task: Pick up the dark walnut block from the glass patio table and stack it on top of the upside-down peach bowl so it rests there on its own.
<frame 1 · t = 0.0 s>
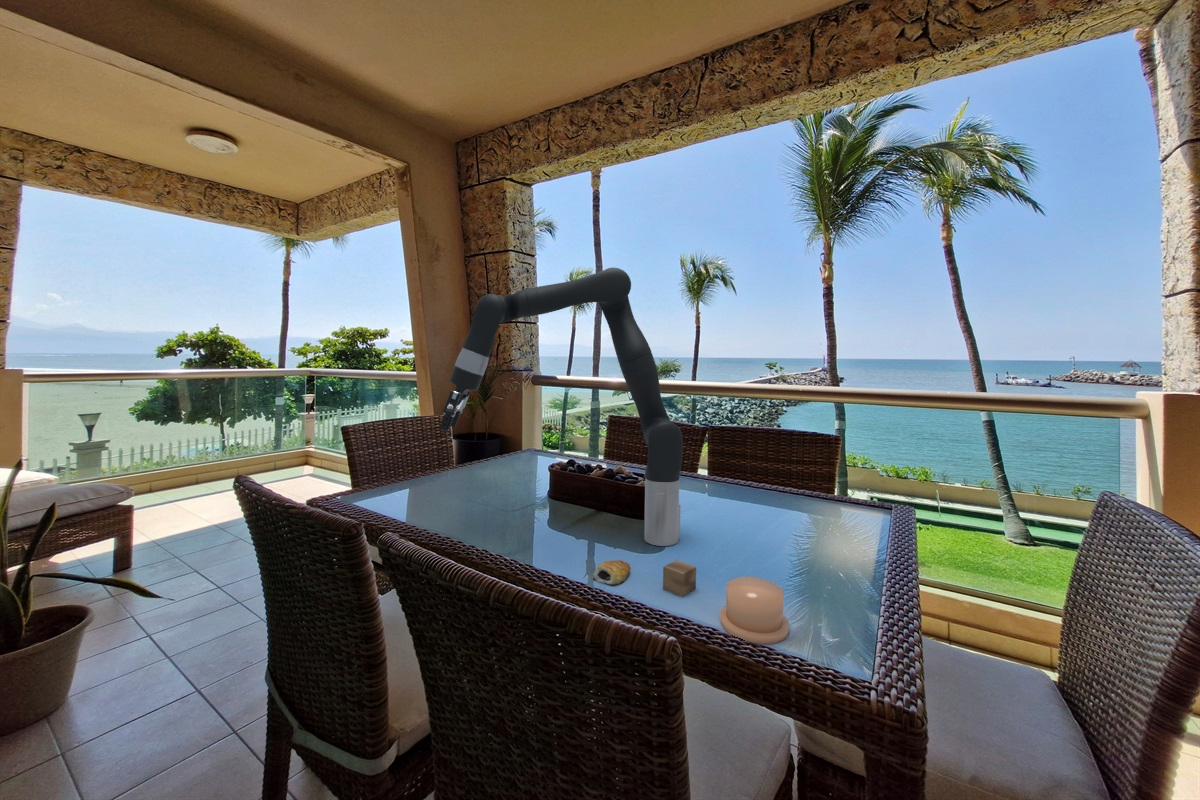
hand: (447, 427, 122), 31 cm above the table, tool tilted 20°, fingers open, 8 cm apart
upside-down peach bowl: (753, 625, 87), on the table
pastry: (612, 578, 107), on the table
walnut block: (679, 589, 101), on the table
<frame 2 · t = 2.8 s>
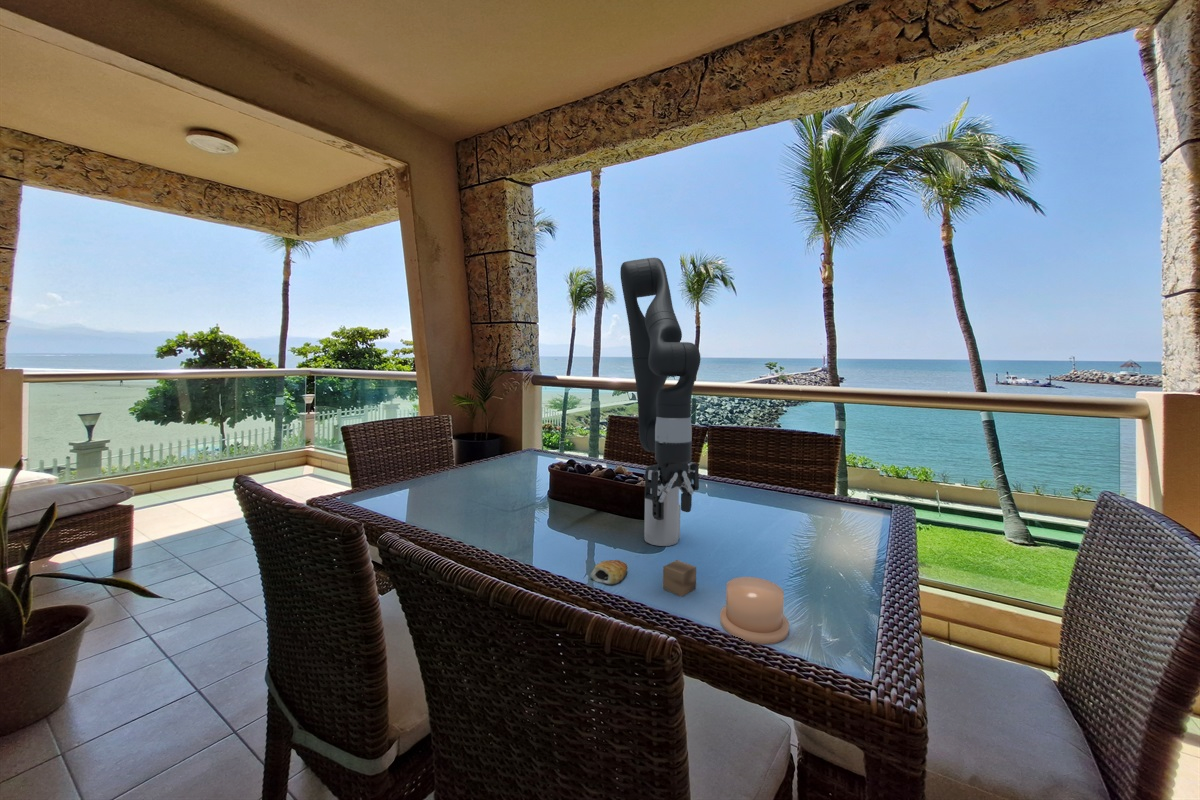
hand: (672, 515, 99), 16 cm above the table, tool pointing down, fingers open, 8 cm apart
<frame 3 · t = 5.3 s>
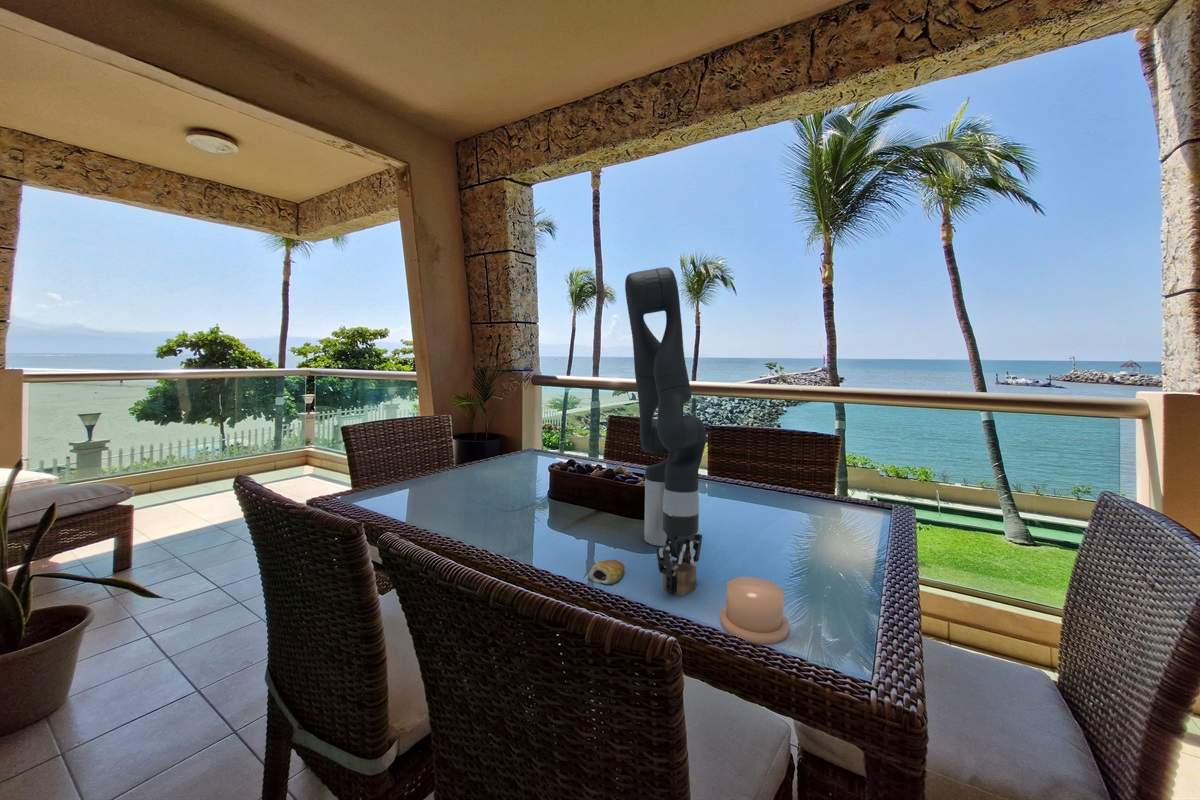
hand: (679, 586, 101), 0 cm above the table, tool pointing down, fingers closed on walnut block, 5 cm apart
walnut block: (679, 589, 101), on the table, touching gripper
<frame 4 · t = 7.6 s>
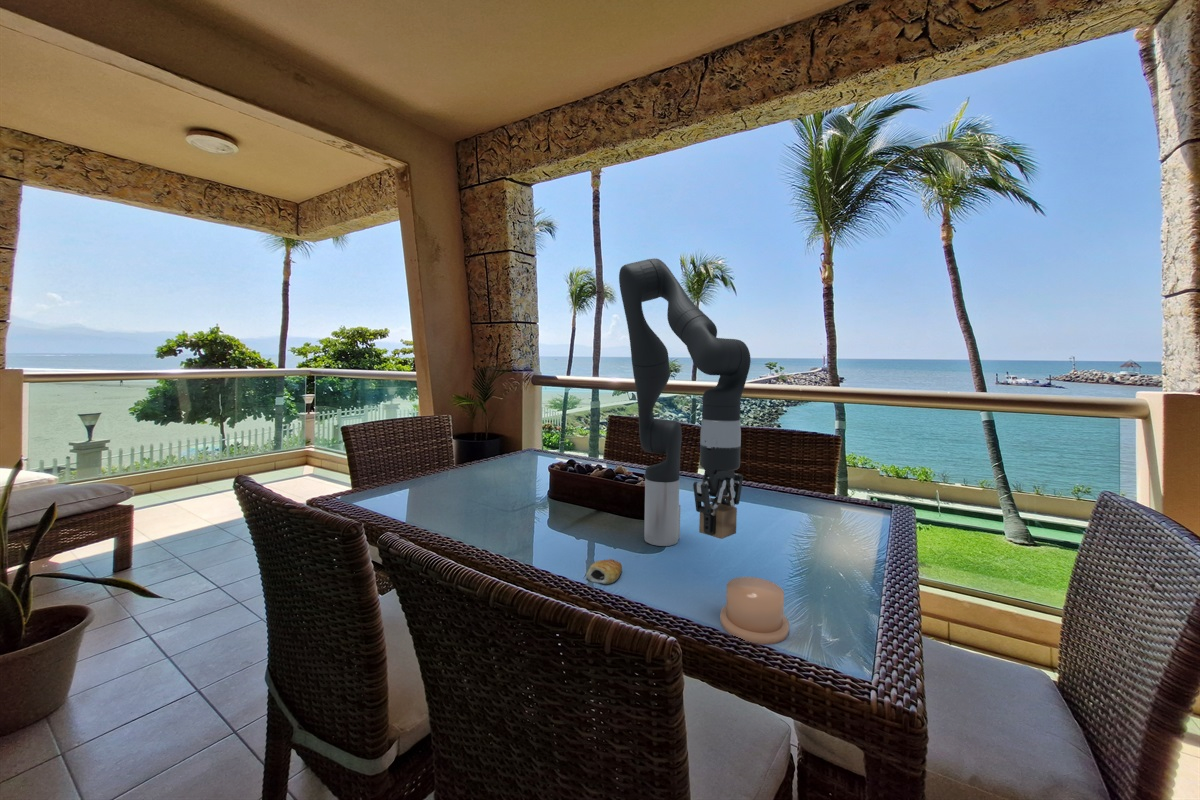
hand: (717, 530, 91), 16 cm above the table, tool pointing down, fingers closed on walnut block, 5 cm apart
walnut block: (717, 532, 91), point 16 cm above the table, touching gripper
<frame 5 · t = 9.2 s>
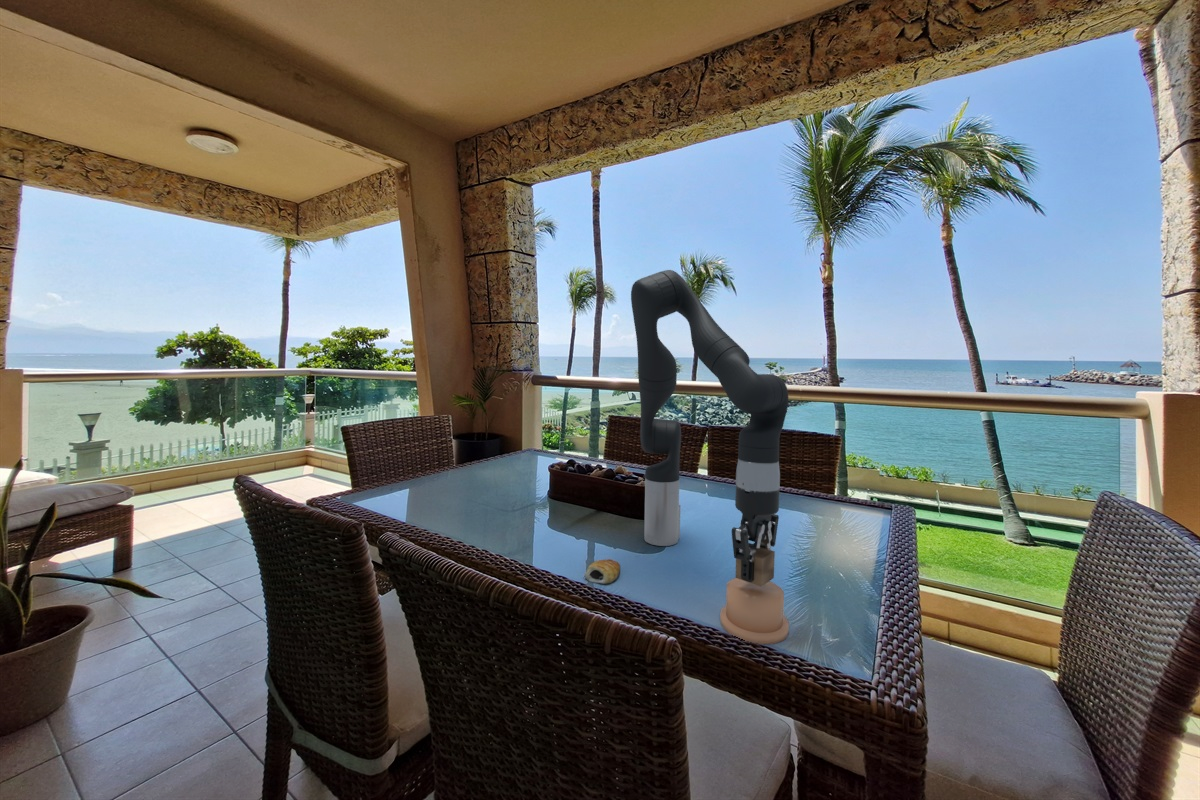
hand: (754, 575, 86), 9 cm above the table, tool pointing down, fingers closed on walnut block, 5 cm apart
walnut block: (754, 577, 87), point 9 cm above the table, touching gripper
when the fingers open (9 cm above the table, at t = 10.2 s): walnut block drops 1 cm, resting on upside-down peach bowl.
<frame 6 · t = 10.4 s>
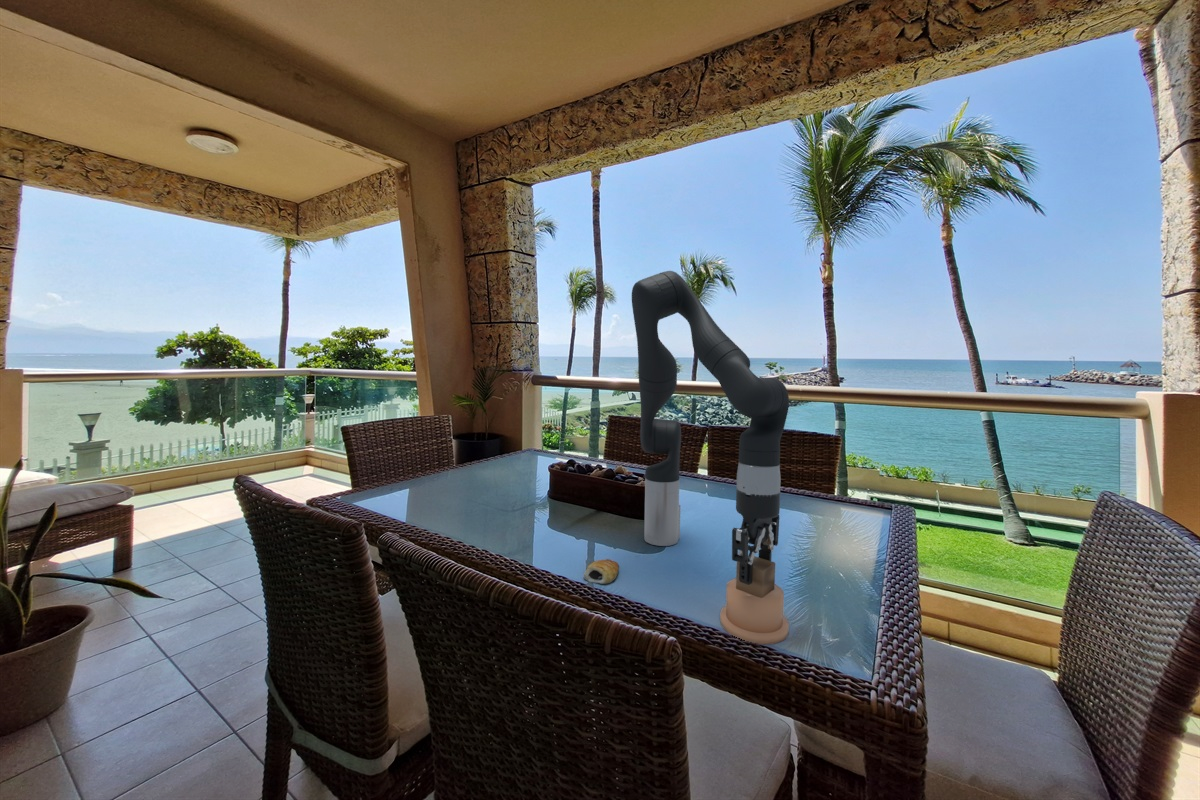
hand: (755, 576, 87), 9 cm above the table, tool pointing down, fingers open, 7 cm apart
upside-down peach bowl: (753, 625, 87), on the table, touching walnut block
walnut block: (755, 588, 87), point 7 cm above the table, touching upside-down peach bowl
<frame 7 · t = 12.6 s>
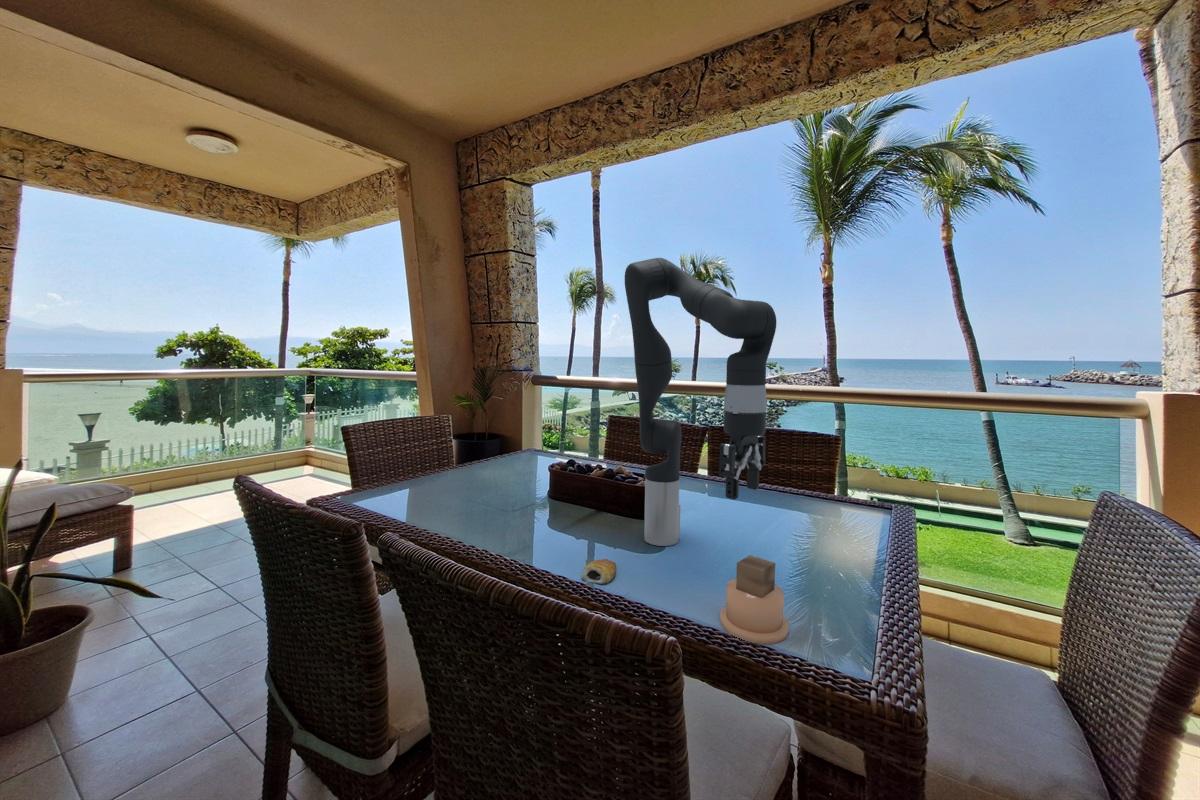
hand: (742, 493, 90), 24 cm above the table, tool pointing down, fingers open, 8 cm apart
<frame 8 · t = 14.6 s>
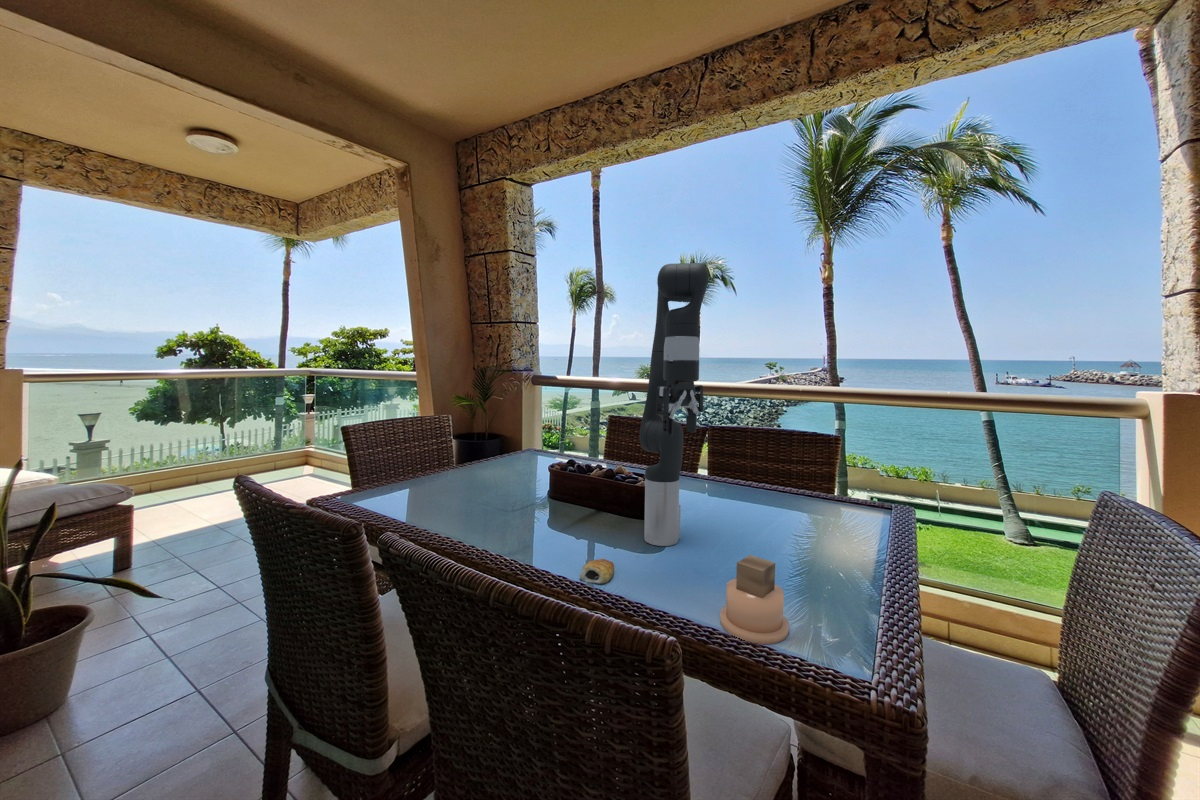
hand: (679, 434, 102), 33 cm above the table, tool pointing down, fingers open, 8 cm apart
at the end: walnut block 0.1 cm off-centre on the upside-down peach bowl, point 7.0 cm above the upside-down peach bowl's base; walnut block tilted 0°; the gripper is holding nothing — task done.
